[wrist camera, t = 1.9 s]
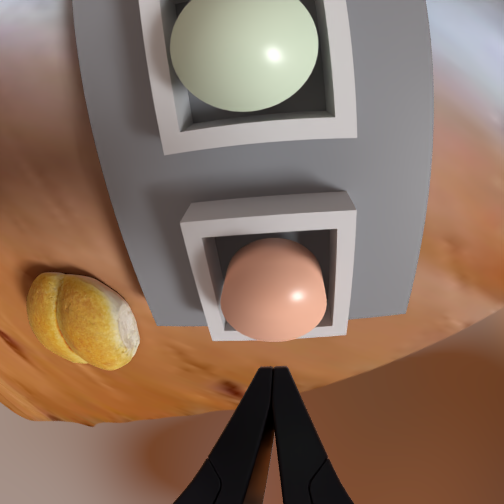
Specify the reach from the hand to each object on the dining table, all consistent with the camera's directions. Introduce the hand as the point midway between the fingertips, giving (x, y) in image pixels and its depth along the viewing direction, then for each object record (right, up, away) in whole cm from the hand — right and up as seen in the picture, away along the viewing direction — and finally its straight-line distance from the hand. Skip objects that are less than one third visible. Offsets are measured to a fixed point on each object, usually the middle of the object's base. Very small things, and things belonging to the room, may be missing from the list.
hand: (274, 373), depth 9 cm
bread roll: (-13, 0, +12) cm, 17 cm away
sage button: (-1, +10, -1) cm, 10 cm away
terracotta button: (0, +3, +4) cm, 5 cm away
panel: (-1, +12, +2) cm, 12 cm away
